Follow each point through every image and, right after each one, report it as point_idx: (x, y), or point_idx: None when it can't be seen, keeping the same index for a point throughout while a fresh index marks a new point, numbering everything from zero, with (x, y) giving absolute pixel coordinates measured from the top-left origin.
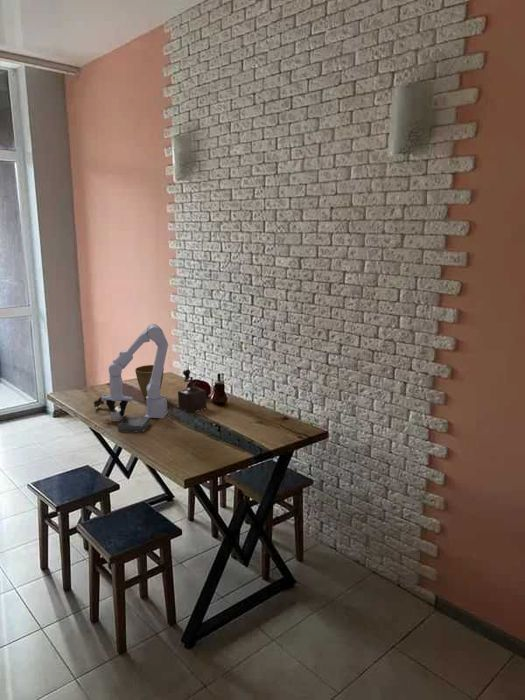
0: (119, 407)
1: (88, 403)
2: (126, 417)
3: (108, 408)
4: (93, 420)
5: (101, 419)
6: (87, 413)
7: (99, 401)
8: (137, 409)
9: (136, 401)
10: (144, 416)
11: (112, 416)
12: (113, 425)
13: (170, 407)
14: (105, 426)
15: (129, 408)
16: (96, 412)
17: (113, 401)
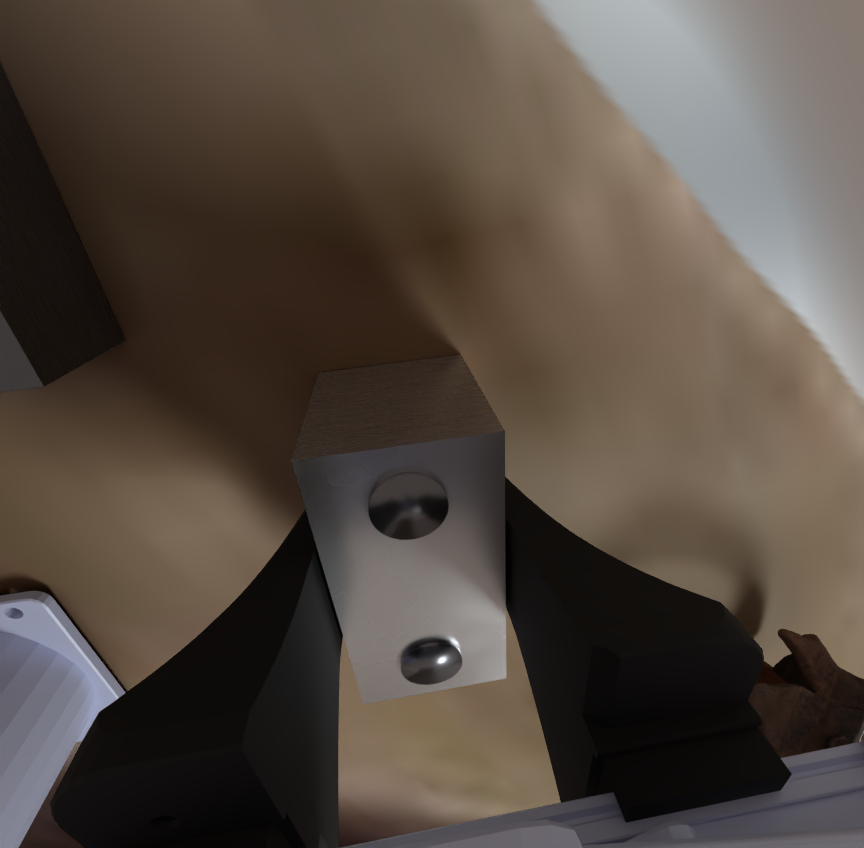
0: (432, 661)
1: None
2: (6, 338)
3: None
4: (745, 317)
5: (633, 384)
6: (846, 518)
7: (823, 723)
8: (342, 727)
9: (458, 818)
10: (34, 603)
11: (441, 391)
12: (293, 136)
13: (49, 835)
14: (431, 25)
15: (438, 721)
16: (748, 565)
17: (573, 778)
